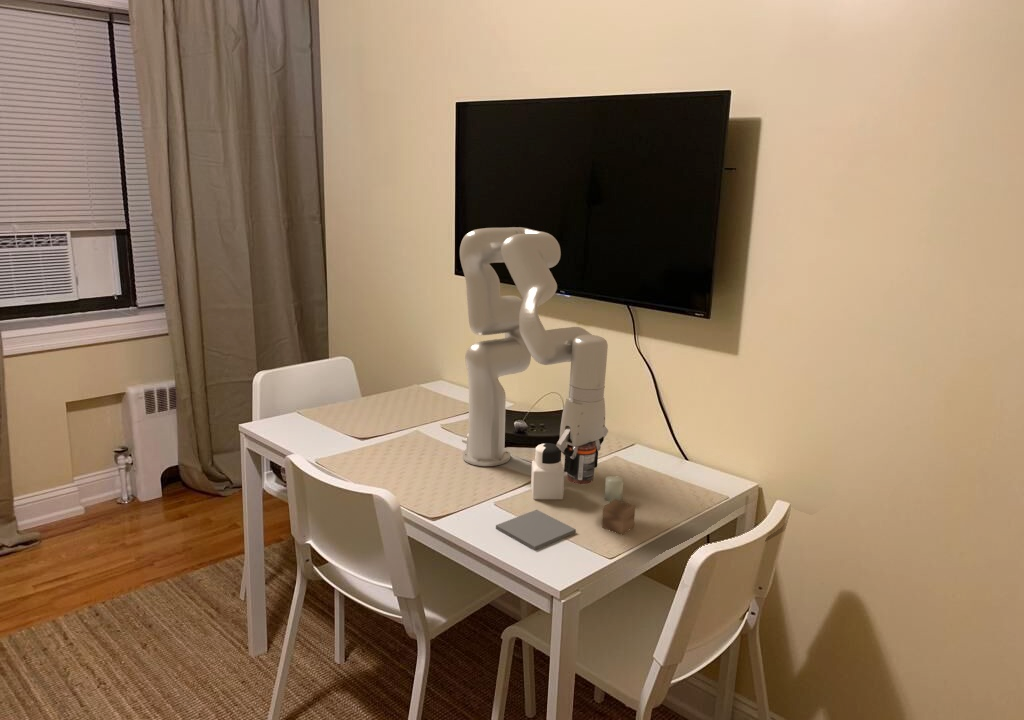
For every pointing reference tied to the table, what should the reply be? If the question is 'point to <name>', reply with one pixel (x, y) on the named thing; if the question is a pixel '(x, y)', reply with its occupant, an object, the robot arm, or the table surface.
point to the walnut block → (618, 516)
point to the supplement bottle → (584, 464)
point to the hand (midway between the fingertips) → (580, 468)
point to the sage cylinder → (613, 488)
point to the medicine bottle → (547, 473)
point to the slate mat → (535, 529)
